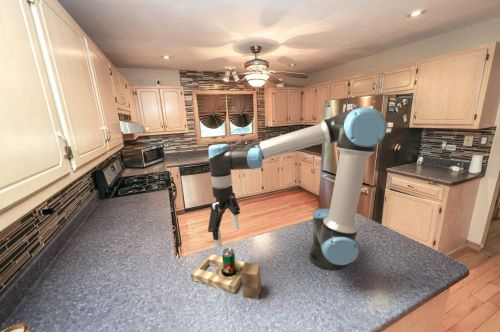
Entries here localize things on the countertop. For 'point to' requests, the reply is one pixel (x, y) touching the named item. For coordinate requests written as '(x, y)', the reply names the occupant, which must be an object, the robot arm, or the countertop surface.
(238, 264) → the socket board
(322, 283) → the countertop surface
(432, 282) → the countertop surface
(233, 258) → the soda can
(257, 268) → the walnut square peg
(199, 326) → the countertop surface
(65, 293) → the countertop surface
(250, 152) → the robot arm
